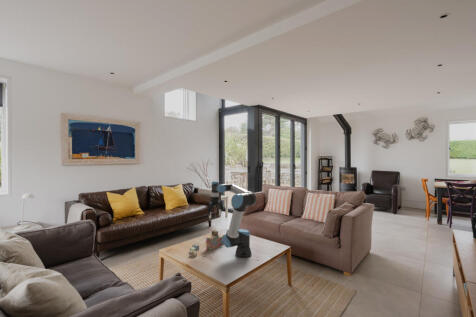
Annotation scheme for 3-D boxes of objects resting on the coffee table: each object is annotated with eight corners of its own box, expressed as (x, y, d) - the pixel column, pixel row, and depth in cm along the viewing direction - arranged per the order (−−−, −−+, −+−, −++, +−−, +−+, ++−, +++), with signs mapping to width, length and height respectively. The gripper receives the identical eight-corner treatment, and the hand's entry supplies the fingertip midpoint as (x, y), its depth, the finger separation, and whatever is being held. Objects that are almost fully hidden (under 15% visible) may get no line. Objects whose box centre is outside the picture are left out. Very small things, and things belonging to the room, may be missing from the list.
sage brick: (195, 253, 222) (195, 248, 222) (192, 253, 220) (192, 249, 220) (193, 250, 227) (193, 246, 227) (190, 251, 225) (190, 247, 225)
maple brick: (197, 255, 216) (197, 251, 216) (195, 257, 213) (195, 252, 213) (191, 254, 218) (191, 250, 218) (189, 256, 215) (189, 251, 215)
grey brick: (199, 249, 230) (199, 245, 230) (196, 250, 227) (196, 246, 227) (194, 248, 234) (194, 244, 234) (192, 249, 231) (192, 245, 231)
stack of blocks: (219, 242, 248) (219, 231, 248) (224, 243, 244) (224, 232, 244) (206, 249, 230) (206, 237, 230) (211, 250, 227) (211, 238, 227)
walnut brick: (218, 235, 235) (217, 231, 235) (215, 236, 233) (215, 232, 233) (214, 233, 240) (214, 229, 240) (211, 234, 237) (211, 230, 237)
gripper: (221, 194, 249) (221, 214, 249) (203, 197, 231) (203, 218, 231) (226, 195, 244) (226, 215, 244) (207, 198, 226) (207, 220, 226)
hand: (215, 216), depth 238 cm, fingers open, 13 cm apart
